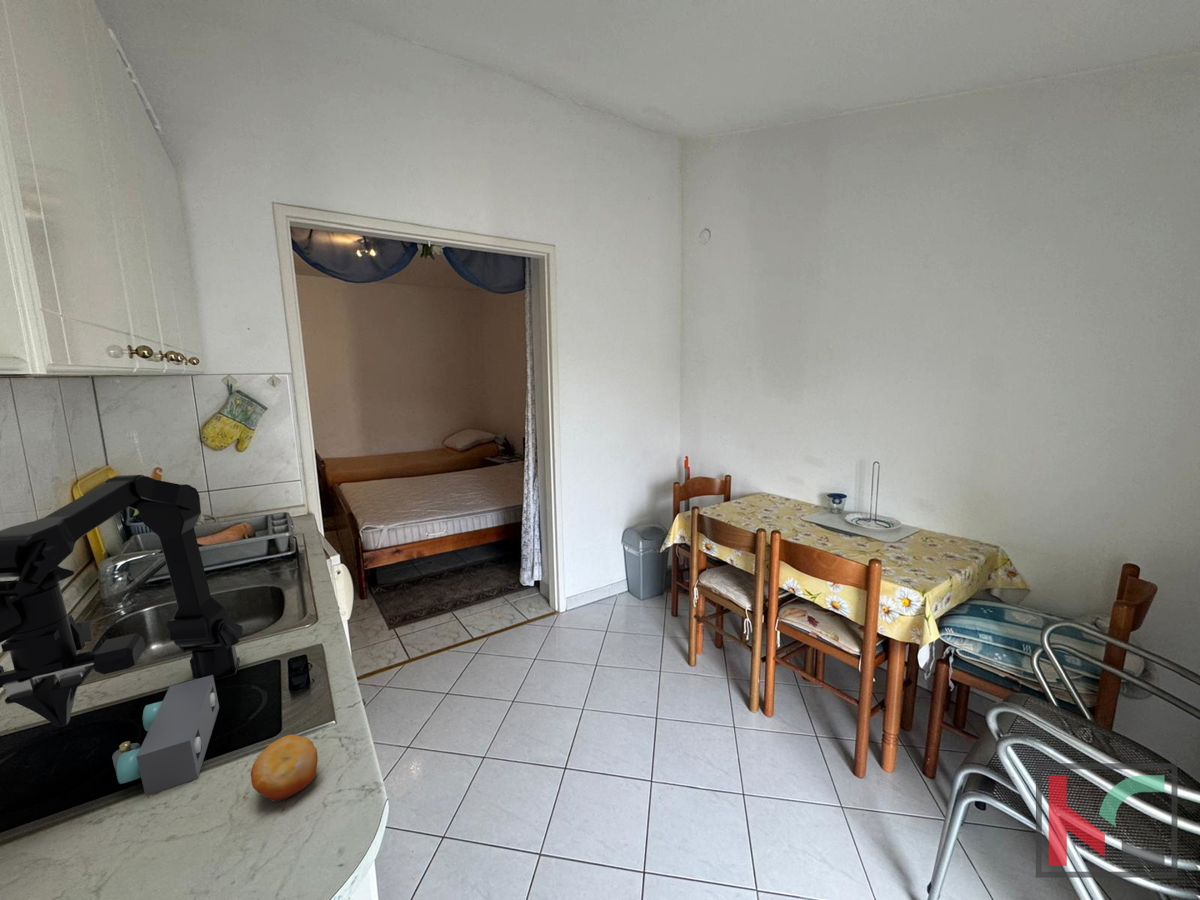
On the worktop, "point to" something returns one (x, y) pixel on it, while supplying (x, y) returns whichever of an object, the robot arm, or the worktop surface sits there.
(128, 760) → the knob
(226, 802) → the worktop surface
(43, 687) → the robot arm
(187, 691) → the mount
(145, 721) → the knob
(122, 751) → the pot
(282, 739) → the fruit
